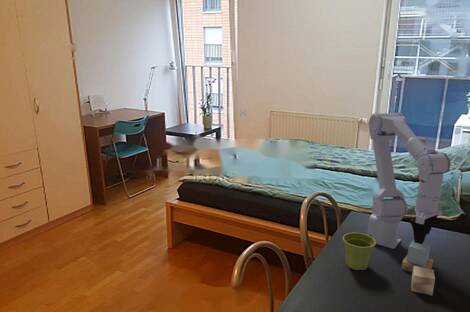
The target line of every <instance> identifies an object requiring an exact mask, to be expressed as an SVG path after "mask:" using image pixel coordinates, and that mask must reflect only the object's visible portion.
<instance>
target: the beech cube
mask: <svg viewBox="0 0 470 312" xmlns="http://www.w3.org/2000/svg"><path fill="white" fill-rule="evenodd" d="M435 282H436V277H435V270H434V269H427V268H422V267H417V266H414V267H413V273H412V274H411V291H412V292H415V293H420V294H424V295H428V296H433V293H434V289H435V288H434V287H435Z"/></svg>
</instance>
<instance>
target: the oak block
mask: <svg viewBox="0 0 470 312" xmlns="http://www.w3.org/2000/svg"><path fill="white" fill-rule="evenodd" d="M407 255H408V253H407V254H406V256H404V259H403V260H402V262H401V270H403V271H406V272H408V273H412V274H413V267H414V266H417V267H422V268H427V269H432V268H433V264H434V259H432V258H430V257H429V259H428V261H427V264H426V266H425V267H424V266H420V265H417V264H414V263H410V262H407ZM432 270H433V269H432Z"/></svg>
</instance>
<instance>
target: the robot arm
mask: <svg viewBox="0 0 470 312" xmlns="http://www.w3.org/2000/svg"><path fill="white" fill-rule="evenodd" d="M406 121H407V120H406V117H405V116H404V115H403V114H402V113H401V112H398V111H396V112H387V113H386V112H385V113H383V112H382V113H381V112H373V113H372V114H371V115H370V118H369V120H368V123H367V124H368V132H369V138H370V140H372V146H373V152H374V158H375V159H374V160H375V166H376V175H377V181H378V186H379V190H377V192H376V193H374V194H373V196H372V207H371V208H372V212H373V213H371V215H370V216H369V219H368V223H367V233H366V235H369V236H371V237H372V238H374V239H375V241H376V244H375V245H379V246H383V247H385V248H389V249H392V250H395V249H396V248H397V246H398V245H399V243H400V242H401V241H402V240H401V238H398V237H399V233H400V232H399V231H400V224H401V220H403V218H404V217H405V216H406V215H407V213H408V210H409V208H408V207H409V206H408V203H407V201H406V199H405V195H404V192H402V191H401V190H399V189H398V188H397V184H396V179H395V173H394V166H393V159H392V152H391V146H390V145H391V144H390V142H391V141H392V140H393V139H395V138H396V137H398V138H399V139H400V140H401V141H402V142H404V143H405V144H406V145H405V149H406V151H407V152H408V154H409V155H410V156H411V157H412V158H413V159H414V160H415V161H416V166H417V170H418V171H417V172H418V173H417V174H418V175H417V176H418V178H419V182H418V188H417V195H416V201H415V206H414V212H415V214H416V215H415V216H416V217H414V216H413V217H411V218H410V220H409V223H410V225H411V228H412V231H413V233H412V234H413V240H414V241H415V243H419V244H423V243H425V240H426V237H427V235H430V232H431V230H432V228H433V225H434V223H435V221H436V219H437V218H438V217H439V216H442V215H443V211H442V210H439V205H440V198H441V193H442V187H443V180H444V175H445V174H447V173H448V172H449V171H450V169H451V160H450V158H449V156H448V154H447V153H446V152H440V151H437V150H436V149H435V148H434V147H433V146H432V145H431V144H430V143H429V142H428V141H427V139H426V137H424V136H423V137H422V136H416V134H415V133H414V132H413V130H412V129H411V128H410V126H408V124H407V123H406Z"/></svg>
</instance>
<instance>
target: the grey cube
mask: <svg viewBox="0 0 470 312" xmlns="http://www.w3.org/2000/svg"><path fill="white" fill-rule="evenodd" d="M431 246H432V244H430V243H426V242H423V244H419V243H415V241H414V239H412V240H411V242H410V243H409V245H408V250H407V254H408V255H407V254H406V255H407V262H410V263H414V264H417V265H420V266H424V267H425V266H426V264H427V261H428V259H429V258H430V252H431Z"/></svg>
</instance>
